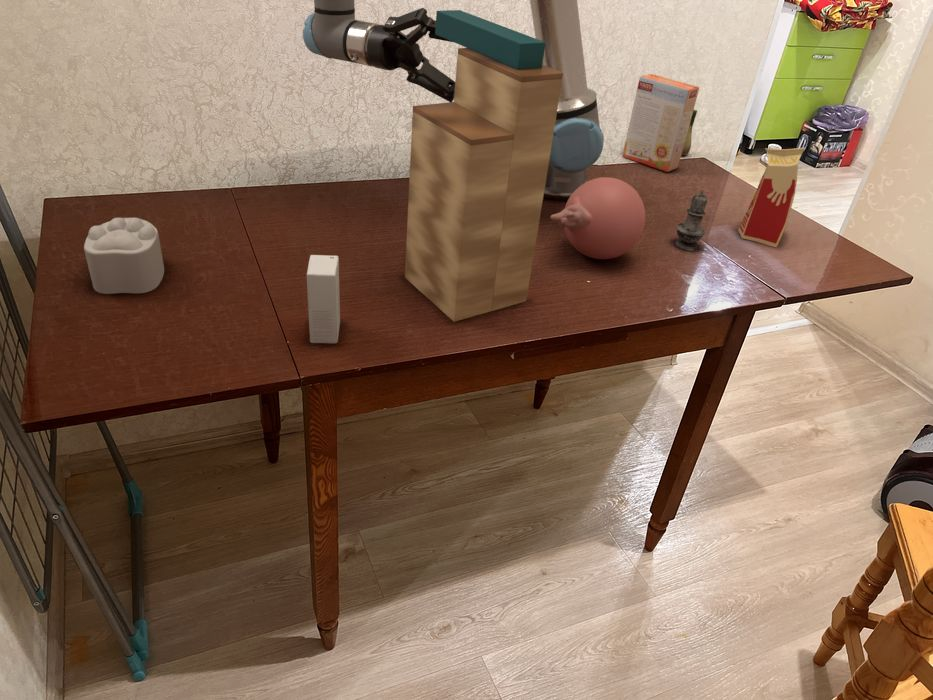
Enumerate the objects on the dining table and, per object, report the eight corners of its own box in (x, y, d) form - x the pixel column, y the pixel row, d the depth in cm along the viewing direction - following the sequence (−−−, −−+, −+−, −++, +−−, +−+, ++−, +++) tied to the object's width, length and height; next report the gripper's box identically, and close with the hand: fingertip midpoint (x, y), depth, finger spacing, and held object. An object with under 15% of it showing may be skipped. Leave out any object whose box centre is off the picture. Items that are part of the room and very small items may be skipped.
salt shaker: (701, 253, 145) (719, 198, 138) (672, 248, 145) (688, 193, 138) (699, 241, 149) (716, 187, 142) (671, 236, 150) (686, 182, 143)
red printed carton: (782, 232, 157) (816, 144, 146) (778, 248, 150) (813, 156, 139) (740, 222, 160) (770, 134, 148) (734, 237, 153) (765, 146, 141)
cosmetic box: (312, 321, 111) (310, 253, 105) (340, 322, 112) (339, 254, 105) (308, 343, 106) (305, 273, 100) (337, 344, 107) (336, 275, 100)
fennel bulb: (683, 150, 197) (695, 107, 191) (693, 157, 194) (705, 113, 187) (665, 151, 196) (677, 107, 189) (675, 157, 192) (687, 113, 185)
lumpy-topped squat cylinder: (87, 294, 112) (75, 244, 107) (105, 255, 122) (95, 208, 117) (157, 293, 114) (148, 244, 109) (169, 254, 124) (162, 209, 119)
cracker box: (678, 168, 185) (701, 86, 173) (667, 173, 181) (689, 89, 169) (633, 152, 192) (651, 72, 180) (621, 156, 189) (639, 75, 177)
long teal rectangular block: (434, 34, 114) (436, 10, 112) (458, 33, 116) (460, 10, 114) (517, 70, 100) (520, 43, 98) (542, 68, 102) (545, 42, 100)
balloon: (523, 244, 141) (534, 169, 132) (607, 233, 148) (623, 162, 139) (561, 281, 129) (576, 203, 121) (650, 268, 137) (671, 193, 128)
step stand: (404, 277, 125) (415, 50, 104) (474, 260, 133) (497, 45, 111) (453, 322, 115) (477, 80, 93) (526, 301, 123) (563, 72, 101)
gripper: (391, 107, 143) (483, 129, 134) (339, 7, 120) (445, 26, 112) (408, 78, 144) (500, 98, 136) (360, -26, 122) (466, -9, 114)
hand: (475, 65), depth 124 cm, fingers open, 13 cm apart
